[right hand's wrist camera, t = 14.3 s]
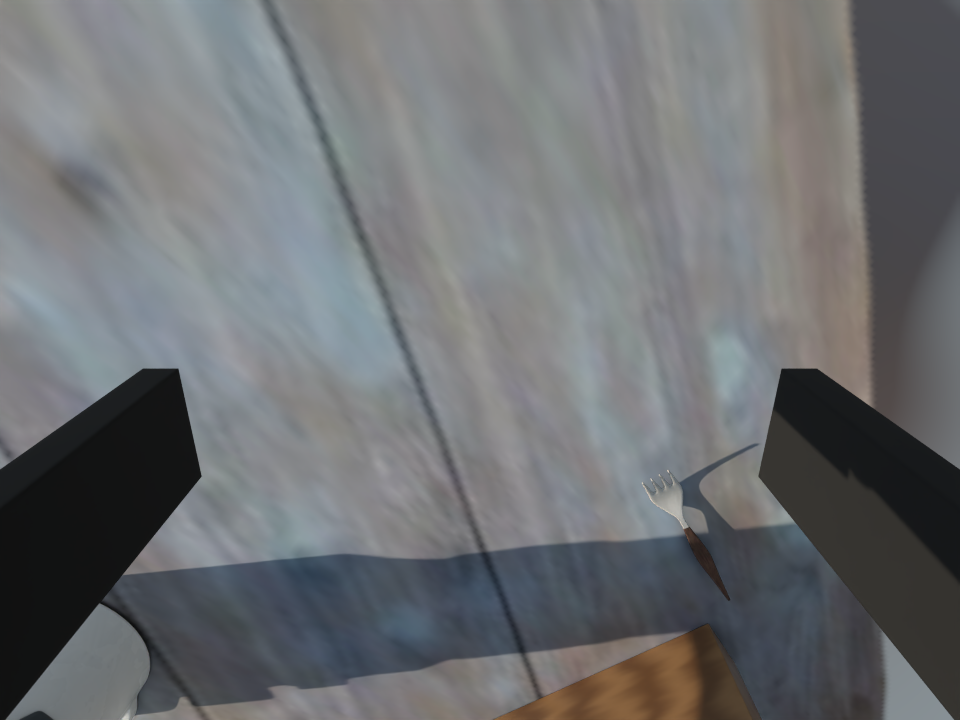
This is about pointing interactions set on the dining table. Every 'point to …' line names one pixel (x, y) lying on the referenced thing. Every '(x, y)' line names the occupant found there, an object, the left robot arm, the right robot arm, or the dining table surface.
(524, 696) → the dining table surface
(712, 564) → the fork
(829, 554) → the right robot arm
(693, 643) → the box
